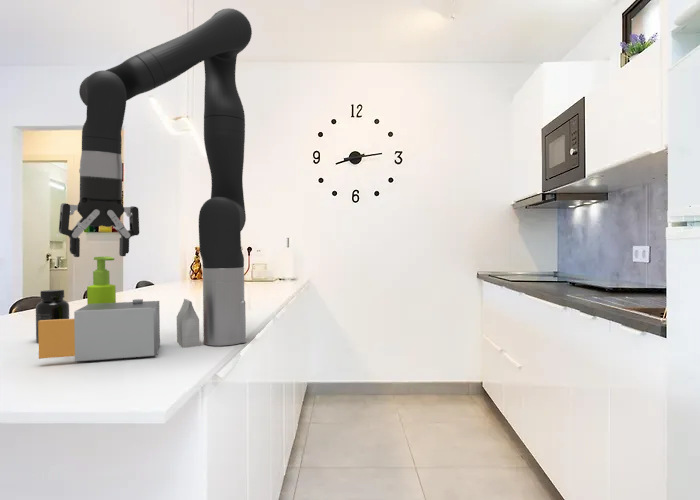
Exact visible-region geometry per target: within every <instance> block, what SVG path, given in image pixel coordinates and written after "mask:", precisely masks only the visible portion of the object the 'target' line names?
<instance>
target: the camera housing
mask: <svg viewBox="0 0 700 500" xmlns="http://www.w3.org/2000/svg"><path fill="white" fill-rule="evenodd" d="M149 307H157V345H158V349H159V348H160V346H161V335H160V334H161V333H160V331H161V329H160V328H161V325H160V324H161V323H160V322H161V321H160V320H161V319H160V314H161V313H160V300H152V301H150V300H148V301H144V300H143V299H141V298H138V299H132V301H123V302H121V301H120V302H116V303H95V304H88V305H87V304H86V305H85V306H82V307H81V308H78V309H76V310H75V311H82V310H104V309H127V308H149ZM148 357H150V356H141V357H140V358H148ZM133 358H136V357H127V358H126V359H133ZM150 358H151V357H150ZM121 359H122V360H123V358H113V359H112V360H121ZM136 359H137V358H136ZM105 360H106V361H109V360H111V359H100V360H99V361H105ZM94 361H97V360H86V361H85V362H94ZM76 362H77V363H79V362H84V361H76Z"/></svg>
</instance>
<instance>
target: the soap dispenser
mask: <svg viewBox="0 0 700 500" xmlns="http://www.w3.org/2000/svg"><path fill="white" fill-rule="evenodd" d="M93 260H94V261H96V269H95V270H93V271H92V275H93V276H92V279H93V281H92V282H93V283H92V284H91V285H88V286H87V290H86V292H87V293H86V295H87V297H86V298H87V302H86V303H87V304H86V305H88V304H95V303H117V302H116V300H117V297H116V293H117V292H116V291H117V288H116V287H117V286H116V285H115V284H110V270H108V269H107V268H106V261H115V258H114V257H112V256H107V255H105V256H94V257H93Z"/></svg>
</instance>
